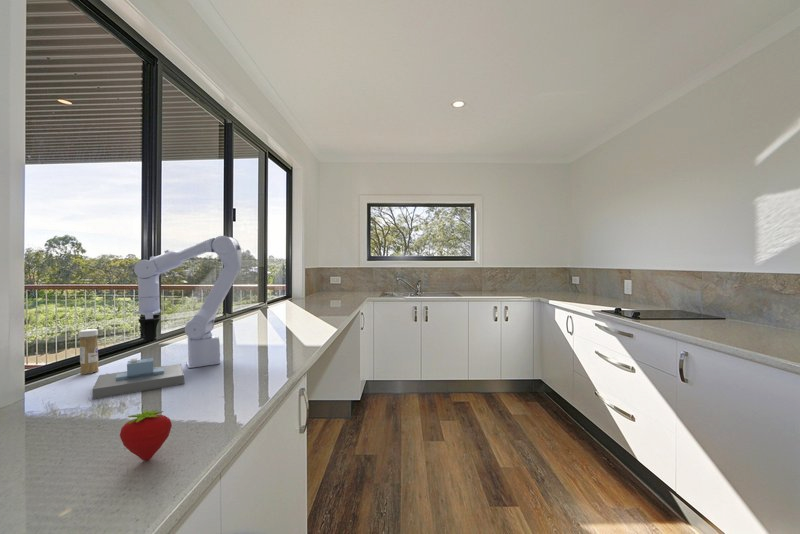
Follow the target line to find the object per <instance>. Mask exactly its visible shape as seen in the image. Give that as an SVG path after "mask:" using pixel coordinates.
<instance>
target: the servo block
mask: <svg viewBox="0 0 800 534" xmlns="http://www.w3.org/2000/svg"><path fill="white" fill-rule="evenodd" d="M154 367H155V366H154V358H153V357H151V358H144V359H143V358H142V359H138V358H136V357H135V358H130V360H128V361H127V363H126V371H127V373H121V374H117V376H116V381H117V380H124V379H125V380H129V379H135V378H142V377H148V376H154V375H157V374H164V367H163V368H156V369H154Z"/></svg>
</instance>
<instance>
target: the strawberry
mask: <svg viewBox="0 0 800 534" xmlns="http://www.w3.org/2000/svg"><path fill="white" fill-rule="evenodd" d="M143 408H144V405H143V404H142V406H141V413H137V414H132V415H128V416H127V418H132V419H131V420H128V421H127V422H126V423H125V424H124V425H123V426H122V427H121V428H120V433H119V437H120V440H121V443H122V444H123V447H125V448H126V449H127V450H128V451H129V452H130V453H132V454H134V455H135V456H136V457H138V458H139V459H140V460H142V461H144V462H145V461H149V460H151V459H152V458H153V457H154V455H155V454H156V453H157V452H158V450H160V449H161V447H162V446H163V444H164V443H165V442H166V440H167V439H168V437H169V436H170V433H171V429H172V427H173V424H172V422H171V419H170V418H169V417H167V416H166V415H164V414H161V413H164V410H162V411H158V409H155V410H151V411H148V410H147V409H146V410H144V411H143Z"/></svg>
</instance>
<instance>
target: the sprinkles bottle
mask: <svg viewBox="0 0 800 534" xmlns="http://www.w3.org/2000/svg"><path fill="white" fill-rule="evenodd" d="M98 335H99V329H97V328H87V329H81V330H78V337H79V363H80V372H79V373H80V374H82V375H88V374H87V373H91V374H94V373H93V372H95V373H97V372H99V370H100V369H99V348H98V347H99V346H98Z"/></svg>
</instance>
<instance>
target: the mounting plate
mask: <svg viewBox="0 0 800 534" xmlns="http://www.w3.org/2000/svg"><path fill="white" fill-rule="evenodd" d="M163 367H164V374H157V375H154V376H148V377H142V378H135V379H129V380H125V379H124V380H117V381H116V376H117V374H121V373H127V370H125V371H121V372H111V373H105V374H99V375H98V377H97V379H96V381H95V383H94V385H93V388H92V399H93V398H96V399H100V398H99V397H102V398H107V397H106V396H108V397H113V396H112V395H114V396H119V395H118V394H120V395H125V394H132V393H137V392H143V391H150V390H155V389H162V388H168V387H172V386H173V387H174V386H178V385H179V386H181V385H184V384H185V374H184V371H183V366H182V363H175V364H169V365H163V366H154V369H156V368H163Z"/></svg>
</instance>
